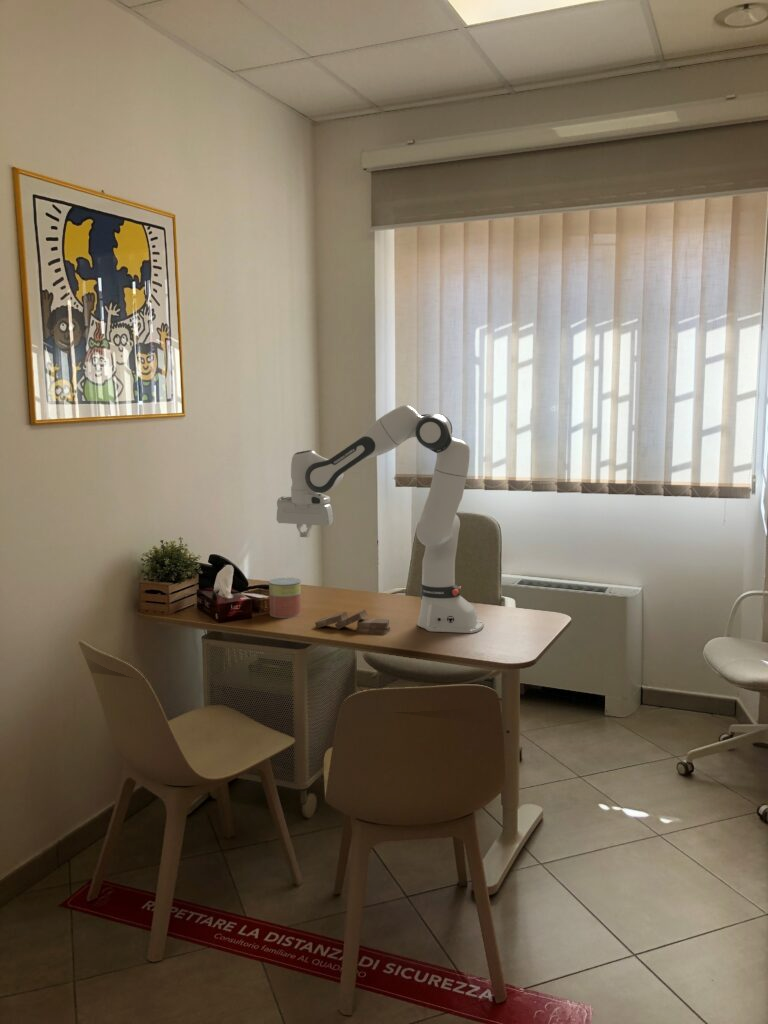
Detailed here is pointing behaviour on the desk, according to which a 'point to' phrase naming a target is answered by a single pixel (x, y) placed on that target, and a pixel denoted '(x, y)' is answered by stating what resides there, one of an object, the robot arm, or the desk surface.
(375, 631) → the domino
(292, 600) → the canned food
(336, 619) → the domino
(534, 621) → the desk surface
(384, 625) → the domino
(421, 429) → the robot arm
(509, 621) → the desk surface
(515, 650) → the desk surface
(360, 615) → the domino
